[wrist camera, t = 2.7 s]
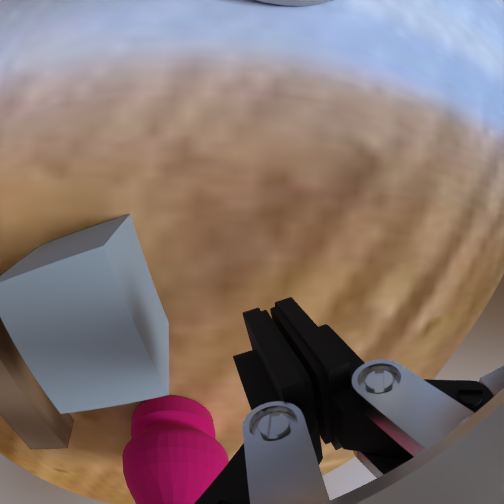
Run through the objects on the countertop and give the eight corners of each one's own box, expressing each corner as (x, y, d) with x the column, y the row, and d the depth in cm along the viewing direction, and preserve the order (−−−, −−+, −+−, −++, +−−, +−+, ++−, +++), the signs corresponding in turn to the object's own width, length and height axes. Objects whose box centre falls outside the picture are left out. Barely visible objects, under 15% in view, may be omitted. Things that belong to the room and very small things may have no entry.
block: (41, 244, 15) (-14, 287, 9) (130, 213, 16) (103, 245, 10) (85, 344, 17) (60, 413, 11) (169, 323, 18) (169, 394, 12)
